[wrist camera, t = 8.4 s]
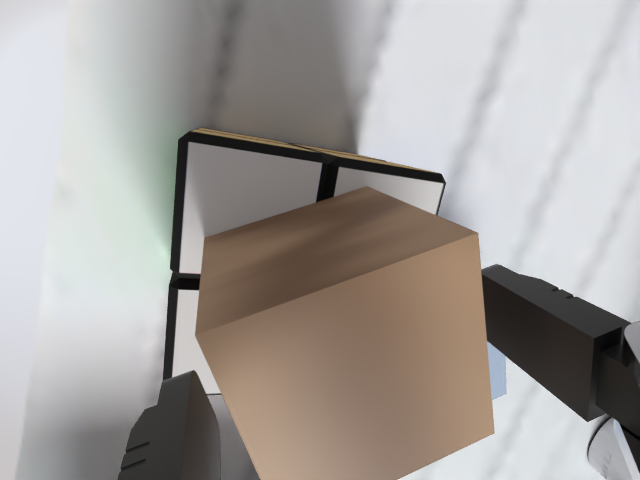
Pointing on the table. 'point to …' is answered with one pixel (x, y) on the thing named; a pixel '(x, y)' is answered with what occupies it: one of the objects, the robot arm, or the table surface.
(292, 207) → the puzzle cube
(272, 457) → the tan block
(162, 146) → the table surface
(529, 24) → the table surface
